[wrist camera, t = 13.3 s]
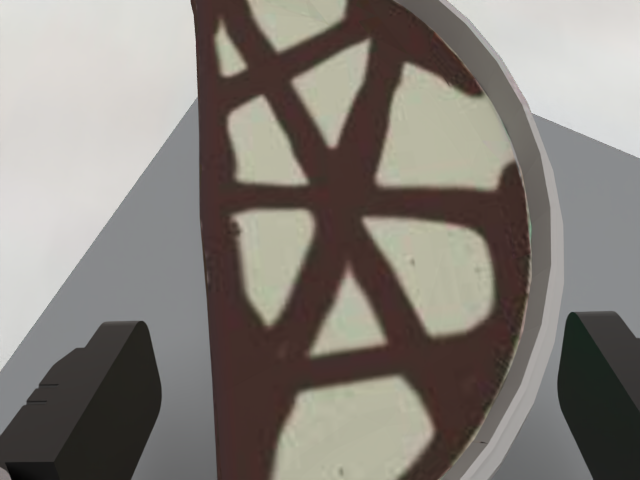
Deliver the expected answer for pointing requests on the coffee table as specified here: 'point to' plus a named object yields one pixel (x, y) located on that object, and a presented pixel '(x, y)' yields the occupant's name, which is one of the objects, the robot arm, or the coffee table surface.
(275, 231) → the food container
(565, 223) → the slate board
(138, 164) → the coffee table surface
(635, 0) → the coffee table surface
